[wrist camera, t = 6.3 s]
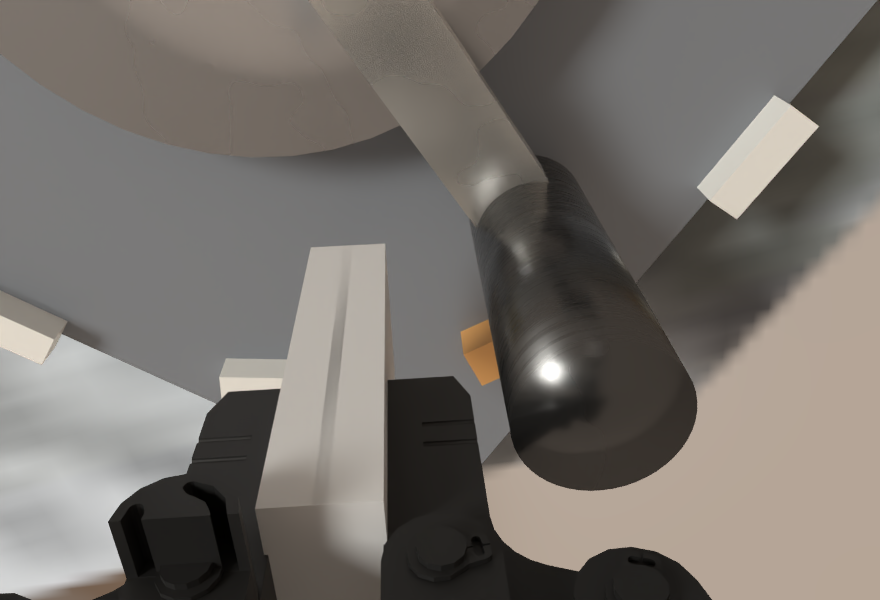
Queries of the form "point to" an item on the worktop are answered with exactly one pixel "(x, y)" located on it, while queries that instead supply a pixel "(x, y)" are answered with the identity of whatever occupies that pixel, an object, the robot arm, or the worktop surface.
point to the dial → (444, 148)
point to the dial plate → (391, 194)
